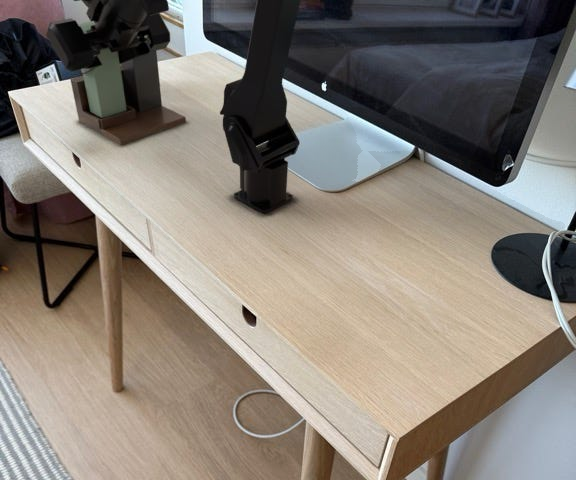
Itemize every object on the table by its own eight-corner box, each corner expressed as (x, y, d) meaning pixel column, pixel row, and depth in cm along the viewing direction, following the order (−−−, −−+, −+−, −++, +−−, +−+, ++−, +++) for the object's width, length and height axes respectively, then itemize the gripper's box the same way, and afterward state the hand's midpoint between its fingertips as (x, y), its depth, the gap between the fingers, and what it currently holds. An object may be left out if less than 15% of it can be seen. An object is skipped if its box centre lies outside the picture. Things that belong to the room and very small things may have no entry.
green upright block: (126, 110, 98) (114, 24, 88) (102, 118, 95) (86, 30, 86) (114, 104, 99) (100, 19, 90) (90, 111, 96) (73, 24, 87)
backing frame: (186, 122, 101) (179, 33, 91) (119, 145, 93) (104, 51, 83) (144, 102, 106) (133, 15, 96) (78, 122, 99) (58, 30, 88)
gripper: (150, -60, 83) (117, 10, 96) (34, -47, 73) (15, 29, 86) (189, 14, 86) (152, 73, 98) (82, 37, 76) (56, 99, 89)
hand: (96, 67), depth 93 cm, fingers closed on green upright block, 5 cm apart
